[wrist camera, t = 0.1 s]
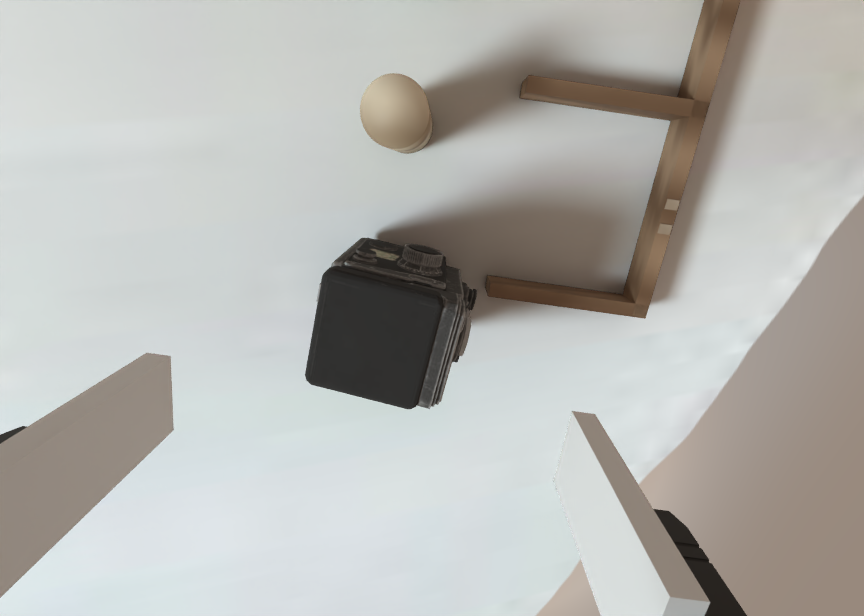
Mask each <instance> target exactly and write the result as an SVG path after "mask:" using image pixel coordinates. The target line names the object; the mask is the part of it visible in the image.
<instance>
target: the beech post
mask: <svg viewBox="0 0 864 616" xmlns="http://www.w3.org/2000/svg"><path fill="white" fill-rule="evenodd" d="M360 115H361V121H362V124H363V126H364V128H365V130H366V132H367V134H368V135H369V136H370V137H371V138H372V139H373V140H374V141H375V142H377V143H378V144H380V145H382V146H384V147H387V148H390V149H392V150H395V151H398V152H401V153H414V152H417V151H419V150H421V149H422V148H423V147H424V146H425V145H426V144H427V143H428V141H429V140H430V138H431V135H432V131H433V122H432V117H431V112H430V108H429V104H428V100H427V97H426V95H425V93H424V91H423V90H422V88H421V87H420V86H419V84H417V83H416V82H415V81H414V80H413V79H411V78H409V77H408V76H405V75H402V74H394V73H393V74H386V75H383V76H380V77H379V78H377V79H375V80H374V81H373V82H372V83H371V84H370V85H369V86H368V87H367V89H366V90H365V92H364V94H363V97H362V100H361V105H360Z"/></svg>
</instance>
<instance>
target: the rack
mask: <svg viewBox="0 0 864 616" xmlns="http://www.w3.org/2000/svg"><path fill="white" fill-rule="evenodd" d="M739 4H740V0H704V3H703V7H702V11H701V14H700V18H699V21H698V25H697V29H696V32H695V36H694V39H693V43H692V47H691V50H690V54H689V57H688V61H687V65H686V68H685V72H684V75H683V79H682V83H681V86H680V90H679V93H678V97H672V96H665V95H659V94H652V93H645V92H639V91H632V90H625V89H618V88H612V87H605V86H598V85H592V84H585V83H578V82H572V81H565V80H558V79H552V78H545V77H538V76H532V75H529V76H528V77H527V78H526V79H525V80H524V81H523V82H522V87H521V92H520V98H521V99H528V100H535V101H542V102H548V103H555V104H562V105H568V106H575V107H582V108H589V109H595V110H602V111H609V112H616V113H622V114H629V115H636V116H642V117H649V118H656V119H663V120H669V121H671V122H670V126H669V129H668V133H667V136H666V140H665V144H664V147H663V151H662V154H661V158H660V162H659V165H658V169H657V172H656V176H655V180H654V183H653V187H652V190H651V194H650V198H649V201H648V205H647V208H646V212H645V216H644V219H643V223H642V226H641V230H640V234H639V237H638V241H637V244H636V248H635V252H634V255H633V259H632V262H631V266H630V270H629V273H628V277H627V280H626V284H625V287H624V291H623V294H616V293H609V292H602V291H595V290H588V289H581V288H574V287H567V286H560V285H553V284H545V283H538V282H531V281H524V280H517V279H510V278H503V277H496V276H489V275H487V281H486V286H485V288H486V291H487V294H488V296H489V297H496V298H503V299H511V300H518V301H525V302H532V303H539V304H546V305H553V306H560V307H567V308H574V309H581V310H589V311H596V312H603V313H610V314H617V315H624V316H631V317H638V318H646V315H647V311H648V308H649V305H650V301H651V298H652V295H653V291H654V288H655V285H656V281H657V278H658V275H659V271H660V268H661V265H662V261H663V258H664V254H665V251H666V248H667V244H668V241H669V238H670V234H671V231H672V228H673V224H674V221H675V218H676V214H677V211H678V208H679V204H680V201H681V198H682V194H683V191H684V188H685V184H686V181H687V178H688V174H689V171H690V168H691V164H692V161H693V158H694V154H695V151H696V148H697V144H698V141H699V138H700V134H701V131H702V127H703V124H704V121H705V117H706V114H707V111H708V107H709V104H710V101H711V97H712V94H713V91H714V87H715V84H716V81H717V77H718V74H719V71H720V67H721V64H722V61H723V57H724V54H725V51H726V47H727V44H728V41H729V37H730V34H731V31H732V27H733V24H734V21H735V17H736V14H737V10H738V7H739Z"/></svg>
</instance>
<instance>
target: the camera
mask: <svg viewBox="0 0 864 616" xmlns="http://www.w3.org/2000/svg"><path fill="white" fill-rule="evenodd" d="M476 295H477V290H476V289H473V291H472V290H471V289H469V288H468V287H467V284H466V283H464V282H462V281H461V275H460V269H456V268H452V267H448V266H446V258H445V257H444V254H443V253H442V252H440V251H438V250H435V249H433V248H429V247H426V246H422V245H416V244H405V245H404V247H403V246H399V245H395V244H391V243H387V242H383V241H379V240H375V239H371V238H361V239H360V240H358V241H357V242H356V243H355V244H354V245H353V246H351V247H350V248H349V249H348V250H347V251H346V252H344V253H343V254H342V255H341V256H340V257H339V258H337V259H336V260H335V261H334V262H333V263H332V266H331V268H329V269H328V270H327V271H326V272H325V273H324V274H323V276H322V281H321V283H320V286H319V292H318V297H317V302H318V304H317V310H316V316H315V321H314V327H313V333H312V339H311V344H310V350H309V356H308V361H307V367H306V373H305V376H306V380H307V381H308V382H309V383H310V384H311V385H315V386H319V387H323V388H327V389H331V390H335V391H339V392H343V393H347V394H350V395H354V396H358V397H362V398H366V399H370V400H374V401H378V402H382V403H386V404H390V405H393V406H397V407H401V408H405V409H412V408H414V407H416V405H417V406H421V407H425V408H428V409H430V407H431V406H433V407H434V405H435V404H437V405H438V404H439V402H441V399H442V395H443V392H444V388H445V385H446V381H447V378H448V374H449V371H450V367H451V364H452V362H458V359H459V356H462V355H463V353H464V351H465V348H466V345H467V342H468V338H469V333H470V328H471V317H469V314H470V310H472V309H473V307H474V304H475V300H476Z"/></svg>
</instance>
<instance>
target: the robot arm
mask: <svg viewBox="0 0 864 616" xmlns="http://www.w3.org/2000/svg"><path fill="white" fill-rule="evenodd" d="M173 430H174V429H173V405H172V381H171V357H170V356H166V355H159V354H151V353H146V354H144V355H142V356H141V357H139V358H138V359H136V360H134V361H133V362H131V363H130V364H128V365H126V366H125V367H123V368H121V369H120V370H118V371H117V372H115V373H113V374H112V375H110V376H109V377H107V378H105V379H104V380H102V381H101V382H99V383H97V384H96V385H94V386H93V387H91V388H89V389H88V390H86V391H84V392H83V393H81V394H80V395H78V396H76V397H75V398H73V399H72V400H70V401H68V402H67V403H65V404H64V405H62V406H60V407H59V408H57V409H55V410H54V411H52V412H51V413H49V414H47V415H46V416H44V417H43V418H41V419H39V420H38V421H36V422H35V423H33V424H31V425H30V426H28V427H25V426H22V427H19V428H17V429H14V430H11V431H9V432H6V433H4V434H1V435H0V597H2V596H3V595H4V594H5V593H6V592H7V591H8V590H9V589H10V588H11V587H12V586H13V585H14V584H15V583H16V582H17V581H18V580H19V579H20V578H21V577H22V576H23V575H24V574H25V573H26V572H27V571H28V570H29V569H30V568H31V567H32V566H34V565H35V564H36V563H37V562H38V561H39V560H40V559H41V558H42V557H43V556H44V555H45V554H46V553H47V552H48V551H49V550H50V549H51V548H52V547H53V546H54V545H55V544H56V543H57V542H58V541H59V540H60V539H61V538H62V537H63V536H65V535H66V534H67V533H68V532H69V531H70V530H71V529H72V528H73V527H74V526H75V525H76V524H77V523H78V522H79V521H80V520H81V519H82V518H83V517H84V516H85V515H86V514H87V513H88V512H89V511H90V510H91V509H92V508H93V507H94V506H96V505H97V504H98V503H99V502H100V501H101V500H102V499H103V498H104V497H105V496H106V495H107V494H108V493H109V492H110V491H111V490H112V489H113V488H114V487H115V486H116V485H117V484H118V483H119V482H120V481H121V480H122V479H123V478H124V477H125V476H127V475H128V474H129V473H130V472H131V471H132V470H133V469H134V468H135V467H136V466H137V465H138V464H139V463H140V462H141V461H142V460H143V459H144V458H145V457H146V456H147V455H148V454H149V453H150V452H151V451H152V450H153V449H154V448H155V447H156V446H157V445H159V444H160V443H161V442H162V441H163V440H164V439H165V438H166V437H167V436H168V435H169V434H170V433H171V432H172V431H173ZM554 484H555V487H556V490H557V492H558V495H559V498H560V501H561V504H562V507H563V510H564V512H565V515H566V518H567V521H568V524H569V527H570V530H571V532H572V535H573V538H574V541H575V544H576V547H577V549H578V552H579V555H580V558H581V561H582V564H583V566H584V569H585V572H586V575H587V578H588V581H589V584H590V586H591V589H592V592H593V595H594V598H595V601H596V604H597V607H598V609H599V612H600V615H601V616H747V615H746V614H745V612H744V611H743V609H742V608H741V606H740V605H739V603H738V602H737V601H736V599H735V597H734V596H733V595H732V593H731V592H730V590H729V588H728V587H727V586H726V584H725V583H724V581H723V580H722V579H721V577H720V575H719V574H718V572H717V571H716V569H715V568H714V566H713V565H712V564H711V563H709V559H708V557H707V556H706V555H705V553H704V552H703V550H702V549H701V548H699V544H698V543H697V541H696V540H695V538H694V537H693V535H692V534H691V533H690V531H689V529H688V528H687V527H686V526H685V525H684V524H683V523H682V522H680V521H679V520H678V519H677V518H676V517H675V516H674V515H673V514H671V513H670V512H669V511H663V510H656V509H653V508H652V506H651V505H650V503H649V501H648V500H647V498H646V497H645V495H644V493H643V492H642V490H641V489H640V487H639V485H638V483H637V482H636V480H635V479H634V477H633V475H632V474H631V472H630V470H629V469H628V467H627V466H626V464H625V462H624V461H623V459H622V457H621V456H620V454H619V453H618V451H617V449H616V448H615V446H614V444H613V443H612V441H611V440H610V438H609V436H608V435H607V433H606V431H605V430H604V428H603V426H602V425H601V423H600V422H599V420H598V418H597V417H596V415H595V414H590V413H582V412H575V411H572V413H571V417H570V420H569V424H568V428H567V432H566V435H565V439H564V443H563V447H562V451H561V454H560V458H559V462H558V466H557V470H556V473H555V477H554Z"/></svg>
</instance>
